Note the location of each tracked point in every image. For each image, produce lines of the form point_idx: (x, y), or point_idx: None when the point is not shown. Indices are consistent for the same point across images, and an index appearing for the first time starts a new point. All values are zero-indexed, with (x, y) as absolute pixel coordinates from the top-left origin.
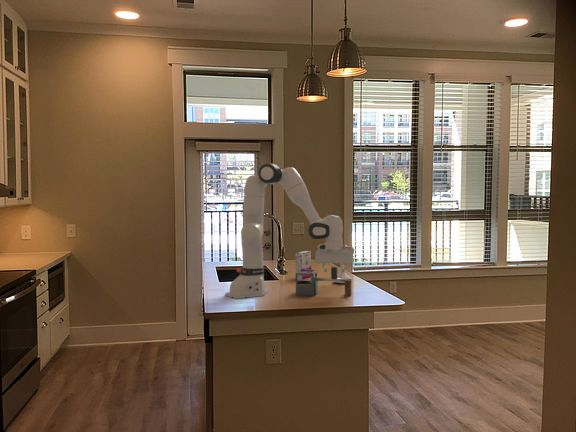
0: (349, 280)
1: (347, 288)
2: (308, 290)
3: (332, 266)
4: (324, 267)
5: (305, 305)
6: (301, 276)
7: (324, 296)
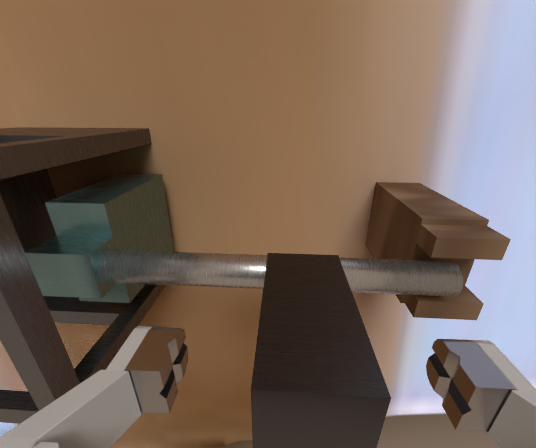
0: (465, 319)
1: None
2: None
3: (265, 395)
4: (122, 432)
5: (193, 418)
6: None
7: None
